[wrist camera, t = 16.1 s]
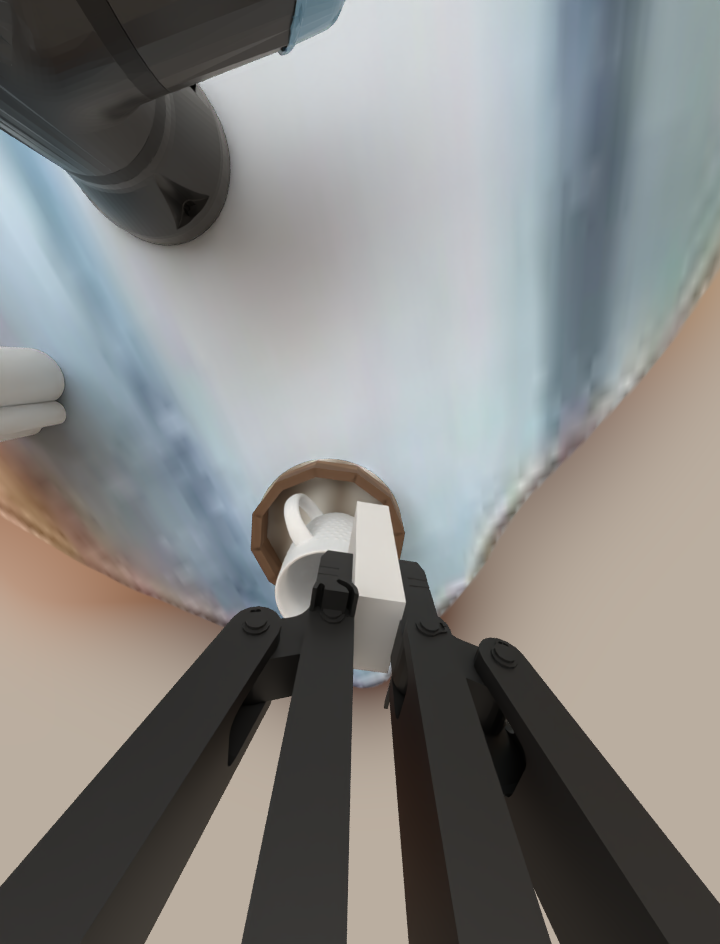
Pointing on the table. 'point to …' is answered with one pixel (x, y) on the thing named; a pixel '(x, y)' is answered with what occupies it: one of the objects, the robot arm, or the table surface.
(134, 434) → the table surface
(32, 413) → the vase
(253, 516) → the holder
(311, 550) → the mug
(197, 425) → the table surface
